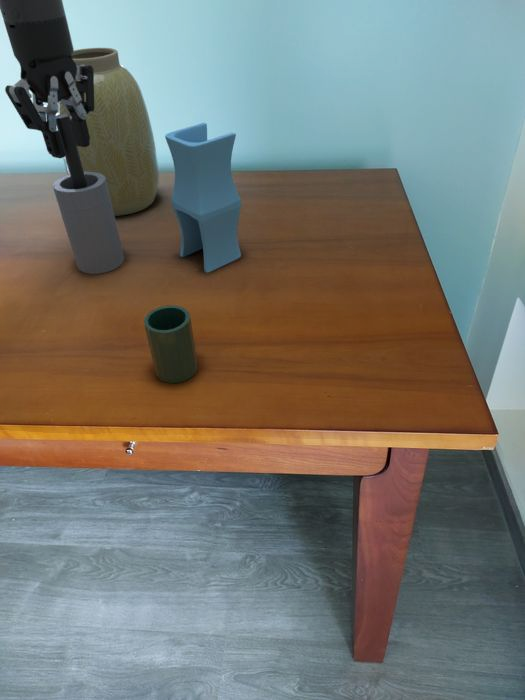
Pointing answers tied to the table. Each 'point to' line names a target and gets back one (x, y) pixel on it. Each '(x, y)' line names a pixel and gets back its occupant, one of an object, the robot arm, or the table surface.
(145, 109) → the vase
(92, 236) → the cup
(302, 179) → the table surface
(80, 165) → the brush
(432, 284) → the table surface
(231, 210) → the blue bent piece
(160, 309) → the holder
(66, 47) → the robot arm
